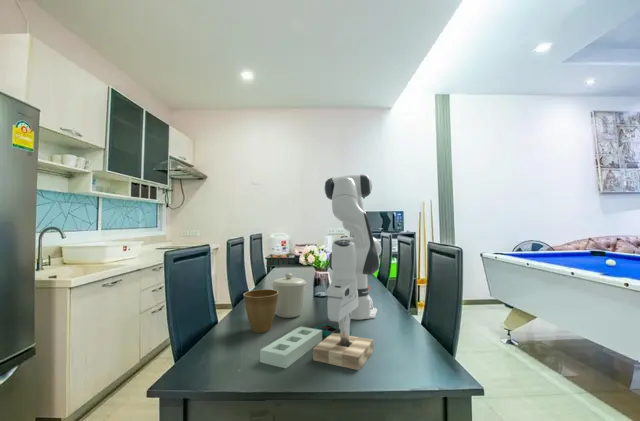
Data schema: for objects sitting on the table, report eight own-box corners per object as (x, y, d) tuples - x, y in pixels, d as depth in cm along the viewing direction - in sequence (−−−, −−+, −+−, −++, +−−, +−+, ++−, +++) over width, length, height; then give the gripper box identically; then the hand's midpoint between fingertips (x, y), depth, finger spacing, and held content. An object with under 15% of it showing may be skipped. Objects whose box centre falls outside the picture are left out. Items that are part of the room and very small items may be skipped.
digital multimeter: (324, 329, 132) (324, 322, 132) (351, 338, 122) (351, 330, 122) (313, 333, 127) (313, 326, 127) (340, 343, 117) (340, 335, 117)
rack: (300, 336, 123) (300, 326, 123) (322, 340, 118) (322, 330, 118) (260, 362, 99) (260, 349, 100) (285, 368, 95) (285, 355, 95)
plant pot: (259, 322, 140) (259, 287, 141) (285, 328, 133) (285, 291, 134) (235, 332, 128) (235, 294, 128) (262, 339, 120) (262, 298, 121)
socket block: (332, 343, 115) (332, 332, 115) (373, 351, 108) (373, 339, 108) (313, 360, 101) (313, 348, 101) (358, 370, 94) (358, 357, 94)
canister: (313, 313, 155) (313, 272, 156) (292, 323, 140) (292, 277, 141) (286, 308, 165) (286, 269, 166) (263, 316, 149) (263, 274, 151)
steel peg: (342, 343, 107) (342, 309, 108) (351, 345, 106) (350, 310, 106) (339, 347, 104) (338, 311, 105) (347, 348, 103) (347, 313, 103)
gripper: (346, 280, 116) (347, 317, 116) (323, 291, 98) (324, 335, 98) (362, 282, 114) (362, 319, 113) (341, 293, 95) (342, 338, 95)
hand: (344, 326), depth 105 cm, fingers closed on steel peg, 3 cm apart
